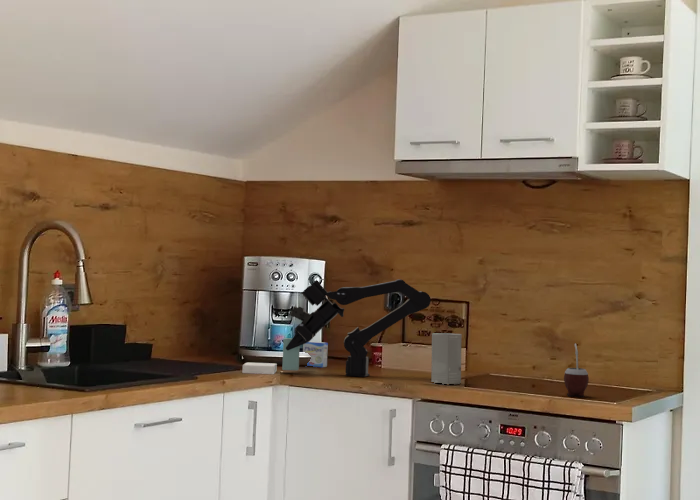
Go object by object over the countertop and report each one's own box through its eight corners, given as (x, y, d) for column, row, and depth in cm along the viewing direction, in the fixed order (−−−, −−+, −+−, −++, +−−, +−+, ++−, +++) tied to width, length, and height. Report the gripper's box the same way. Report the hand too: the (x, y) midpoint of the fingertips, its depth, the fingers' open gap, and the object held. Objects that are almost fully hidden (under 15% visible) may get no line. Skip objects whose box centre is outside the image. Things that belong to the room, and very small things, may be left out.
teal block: (283, 368, 322) (284, 338, 322) (298, 369, 322) (299, 338, 322) (282, 369, 317) (283, 338, 317) (297, 370, 317) (298, 339, 317)
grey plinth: (276, 371, 324) (276, 363, 324) (273, 374, 314) (273, 366, 315) (246, 369, 325) (246, 362, 325) (242, 372, 315) (242, 365, 315)
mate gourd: (576, 398, 281) (577, 345, 281) (556, 394, 287) (557, 343, 288) (594, 397, 285) (595, 345, 285) (573, 393, 291) (575, 343, 292)
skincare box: (448, 385, 300) (450, 334, 301) (428, 383, 305) (430, 332, 305) (462, 383, 307) (464, 333, 308) (442, 381, 311) (444, 331, 312)
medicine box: (301, 366, 345) (302, 341, 346) (306, 365, 350) (307, 340, 350) (323, 367, 343) (324, 342, 343) (327, 366, 347) (328, 342, 348)
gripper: (307, 297, 329) (273, 329, 329) (303, 298, 311) (267, 332, 311) (329, 321, 329) (295, 353, 329) (327, 324, 310) (291, 358, 310)
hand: (287, 348), depth 320 cm, fingers closed on teal block, 4 cm apart
